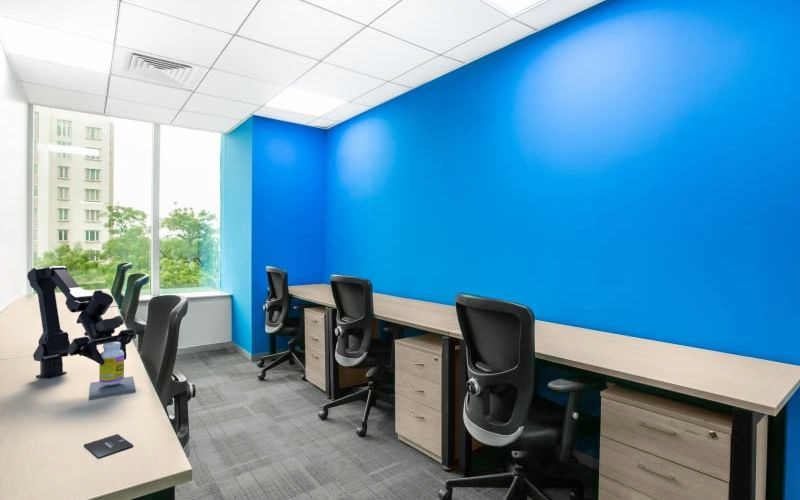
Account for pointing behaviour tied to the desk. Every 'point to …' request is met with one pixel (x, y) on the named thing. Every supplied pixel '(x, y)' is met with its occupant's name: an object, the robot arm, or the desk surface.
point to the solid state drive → (108, 446)
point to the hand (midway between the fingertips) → (114, 361)
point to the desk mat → (111, 388)
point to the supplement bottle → (112, 364)
